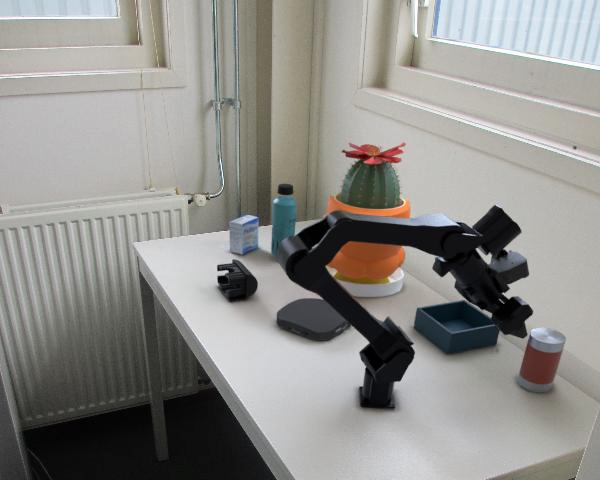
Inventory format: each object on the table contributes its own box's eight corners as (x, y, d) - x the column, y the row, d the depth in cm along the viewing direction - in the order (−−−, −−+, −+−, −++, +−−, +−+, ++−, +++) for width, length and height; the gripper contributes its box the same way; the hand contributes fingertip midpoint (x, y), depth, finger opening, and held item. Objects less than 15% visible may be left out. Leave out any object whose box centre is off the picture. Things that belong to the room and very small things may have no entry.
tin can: (555, 393, 133) (570, 344, 127) (521, 391, 133) (535, 342, 127) (546, 376, 138) (560, 328, 132) (513, 374, 138) (526, 326, 132)
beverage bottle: (267, 260, 182) (269, 186, 171) (275, 252, 188) (277, 179, 177) (290, 264, 181) (293, 189, 170) (297, 256, 186) (301, 183, 175)
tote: (496, 344, 149) (501, 324, 146) (447, 354, 144) (451, 333, 141) (460, 319, 159) (464, 299, 156) (413, 327, 154) (416, 307, 151)
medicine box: (242, 255, 185) (242, 224, 180) (229, 251, 187) (228, 221, 182) (258, 247, 190) (259, 217, 186) (245, 243, 192) (246, 213, 188)
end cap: (258, 299, 162) (258, 273, 158) (229, 303, 159) (229, 276, 156) (243, 283, 169) (244, 257, 166) (216, 286, 167) (216, 260, 163)
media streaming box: (306, 303, 161) (306, 292, 160) (358, 321, 155) (359, 310, 153) (269, 325, 151) (269, 312, 149) (323, 345, 144) (324, 333, 143)
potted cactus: (317, 268, 180) (327, 130, 161) (400, 272, 181) (420, 135, 161) (319, 302, 162) (330, 152, 143) (411, 307, 163) (435, 158, 143)
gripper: (537, 260, 109) (576, 318, 118) (482, 222, 124) (520, 276, 133) (483, 307, 111) (525, 360, 120) (435, 264, 126) (475, 314, 135)
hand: (512, 325), depth 127 cm, fingers open, 9 cm apart
